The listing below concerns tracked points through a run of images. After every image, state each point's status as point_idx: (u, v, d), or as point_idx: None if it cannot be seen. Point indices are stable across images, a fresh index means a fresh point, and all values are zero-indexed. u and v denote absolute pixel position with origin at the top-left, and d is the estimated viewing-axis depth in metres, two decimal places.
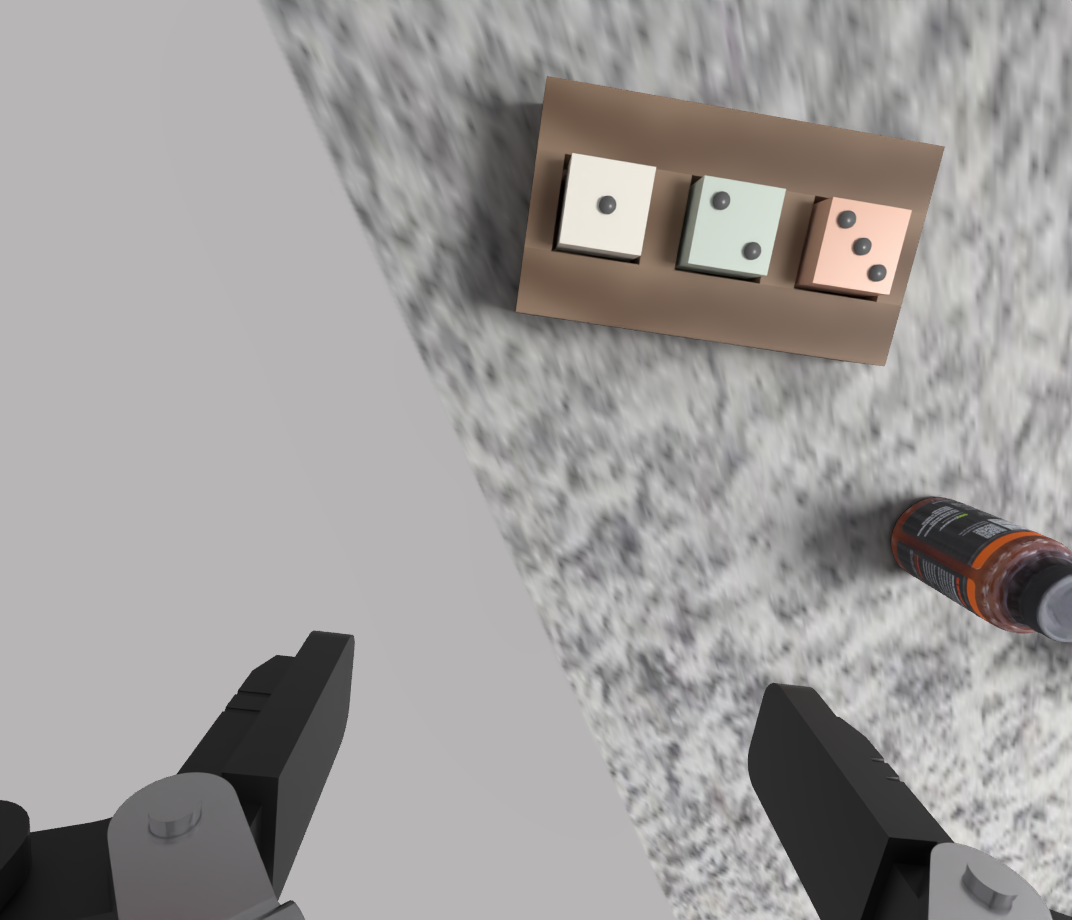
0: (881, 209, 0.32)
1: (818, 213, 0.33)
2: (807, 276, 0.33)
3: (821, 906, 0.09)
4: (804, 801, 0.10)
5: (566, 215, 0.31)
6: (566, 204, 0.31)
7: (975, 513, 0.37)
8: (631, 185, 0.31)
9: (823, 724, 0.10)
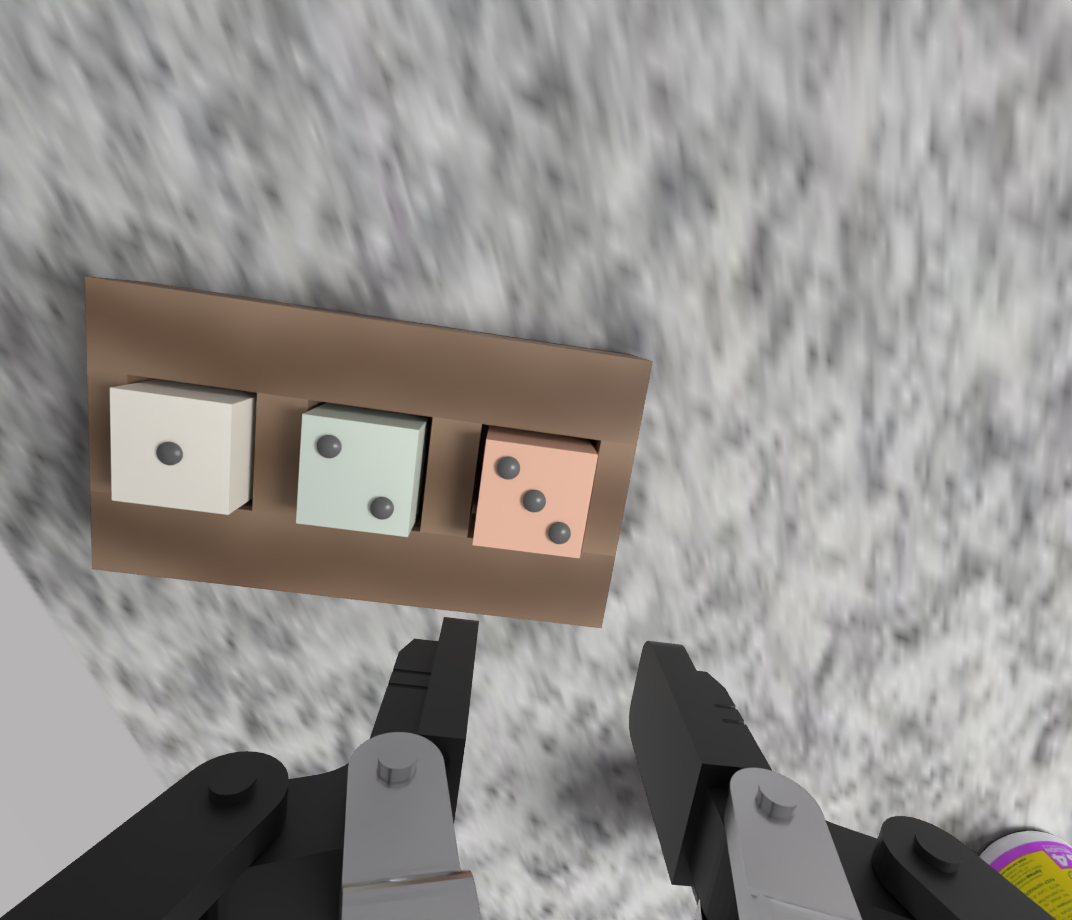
0: (555, 454, 0.23)
1: None
2: None
3: (661, 836, 0.10)
4: (658, 744, 0.11)
5: (115, 466, 0.23)
6: (112, 452, 0.22)
7: None
8: (201, 427, 0.22)
9: (680, 674, 0.11)
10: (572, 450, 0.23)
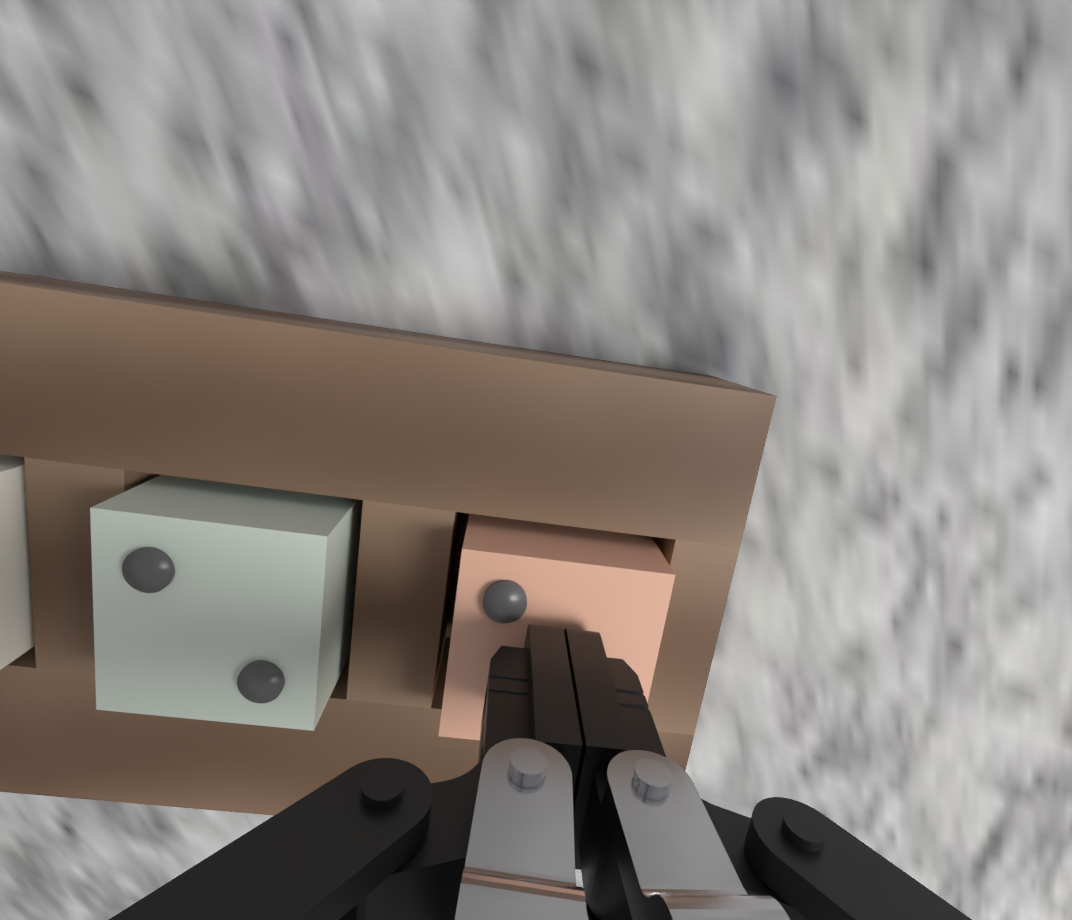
0: (594, 575, 0.12)
1: None
2: None
3: None
4: None
5: None
6: None
7: None
8: None
9: (588, 660, 0.11)
10: (626, 566, 0.12)
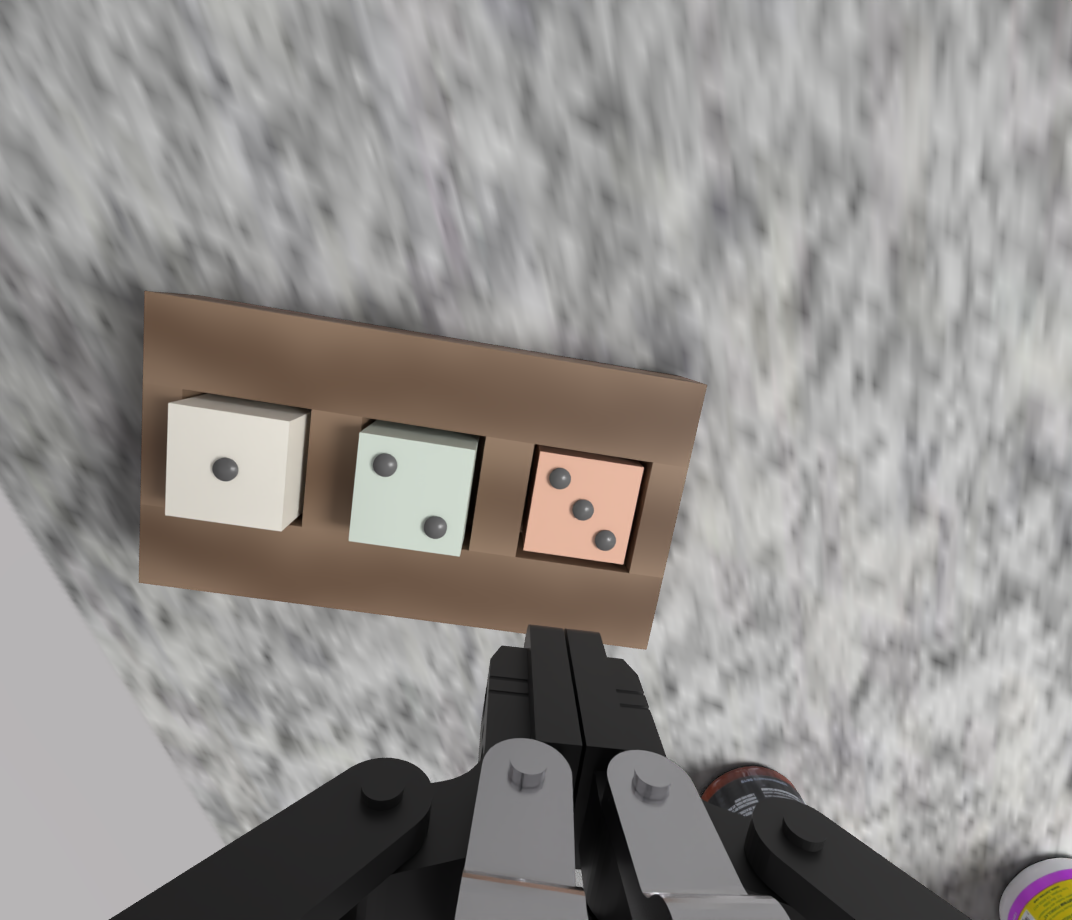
0: (604, 466, 0.25)
1: (536, 459, 0.26)
2: (524, 535, 0.26)
3: None
4: None
5: (170, 481, 0.23)
6: (168, 467, 0.22)
7: None
8: (258, 444, 0.22)
9: (588, 660, 0.11)
10: (619, 463, 0.25)
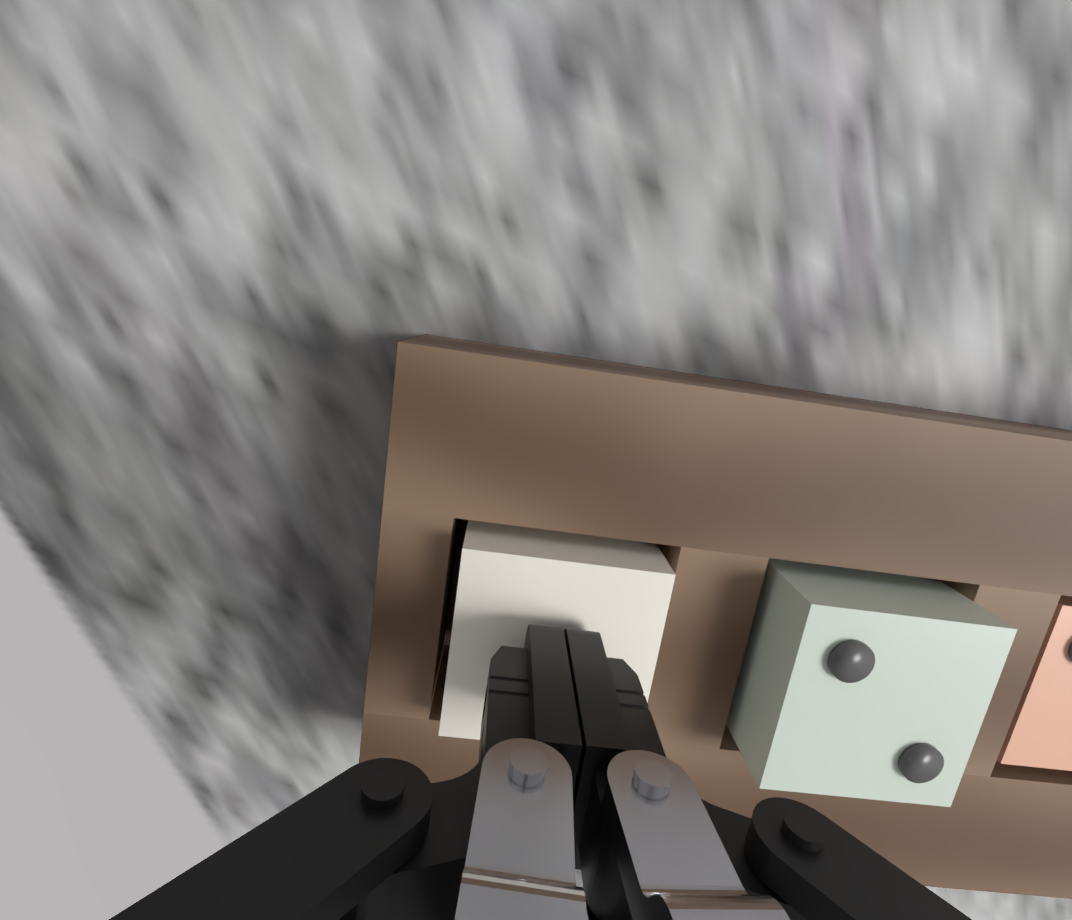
0: None
1: None
2: None
3: None
4: None
5: (453, 681, 0.13)
6: (451, 658, 0.12)
7: None
8: (614, 615, 0.12)
9: (588, 660, 0.11)
10: None
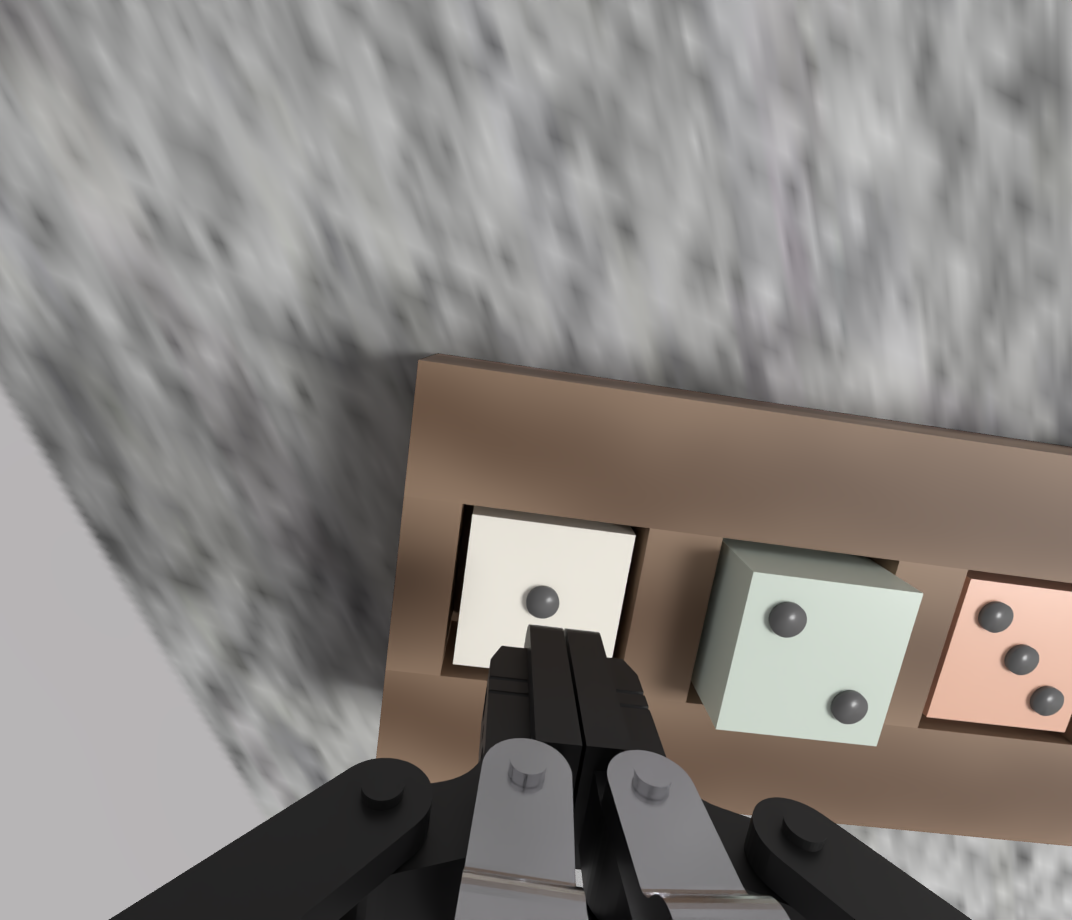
0: (1059, 597, 0.17)
1: None
2: None
3: None
4: None
5: (464, 619, 0.16)
6: (463, 601, 0.16)
7: None
8: (589, 567, 0.16)
9: (588, 660, 0.11)
10: None
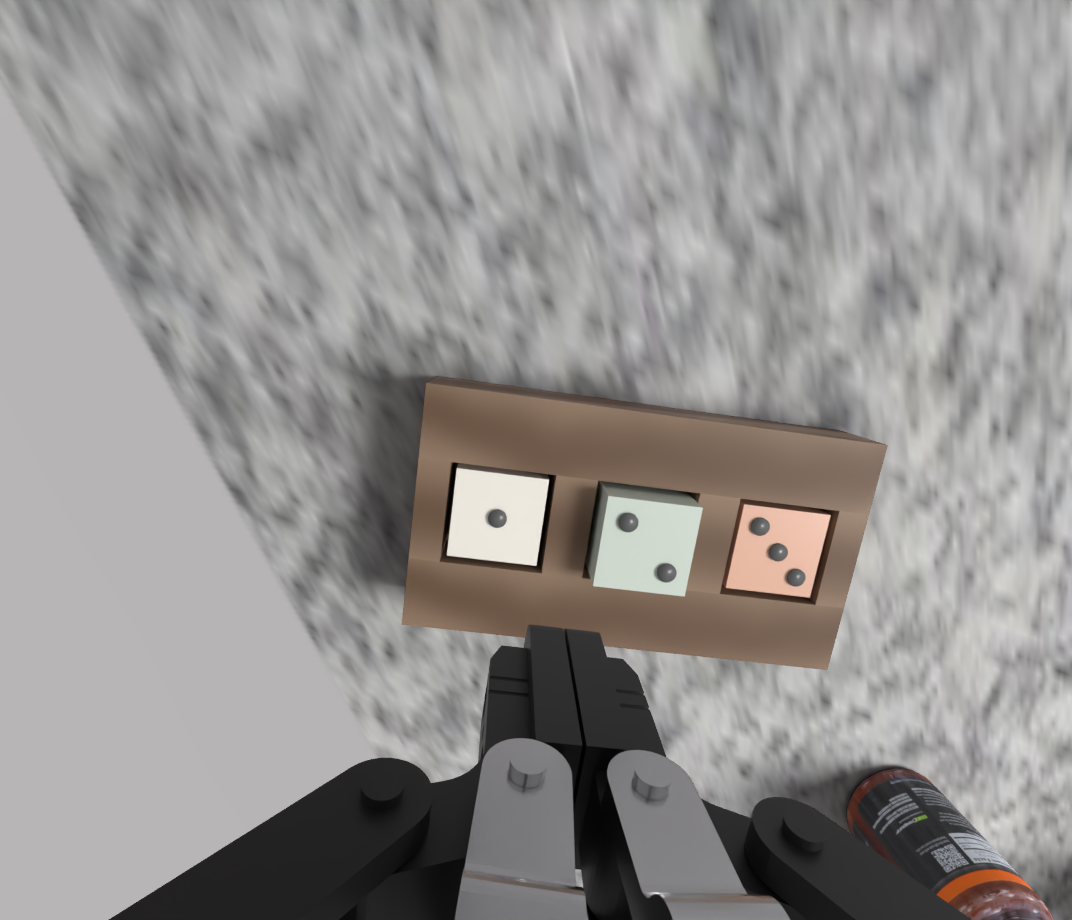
0: (797, 515, 0.29)
1: None
2: None
3: None
4: None
5: (453, 529, 0.29)
6: (452, 518, 0.28)
7: (936, 815, 0.33)
8: (523, 498, 0.28)
9: (588, 660, 0.11)
10: (809, 511, 0.29)
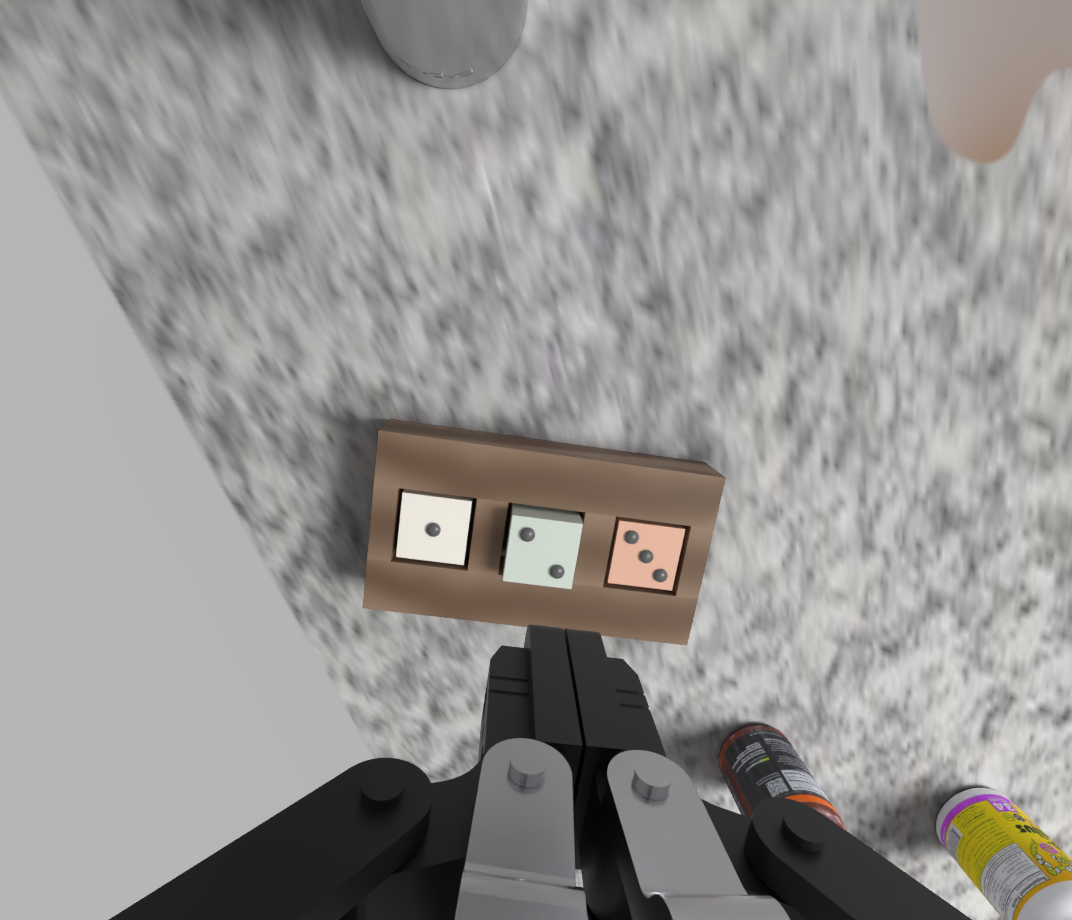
0: (660, 529, 0.39)
1: None
2: (606, 572, 0.40)
3: None
4: None
5: (400, 537, 0.38)
6: (399, 529, 0.38)
7: (776, 758, 0.43)
8: (452, 515, 0.38)
9: (588, 660, 0.11)
10: (669, 526, 0.39)
